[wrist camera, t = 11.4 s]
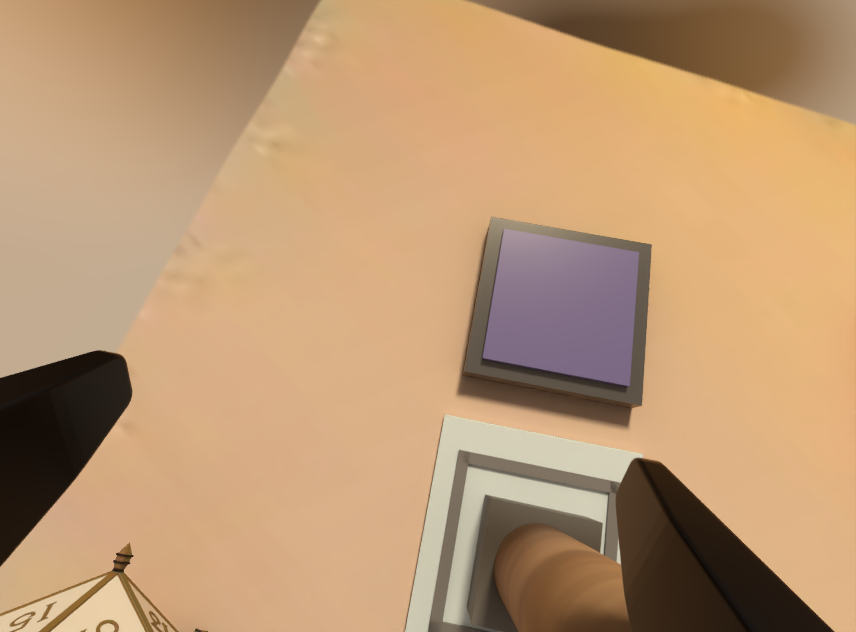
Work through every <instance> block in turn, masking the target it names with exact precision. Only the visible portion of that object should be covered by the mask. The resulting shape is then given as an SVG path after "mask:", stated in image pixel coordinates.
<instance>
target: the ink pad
mask: <svg viewBox="0 0 856 632" xmlns="http://www.w3.org/2000/svg"><path fill="white" fill-rule="evenodd" d="M651 247H652V245H651V244H646V243H640V242H634V241H628V240H623V239H617V238H611V237H605V236H600V235H594V234H588V233H582V232H577V231H571V230H565V229H559V228H554V227H548V226H542V225H536V224H531V223H525V222H519V221H513V220H508V219H502V218H496V217H491V220H490V224H489V228H488V234H487V240H486V245H485V251H484V257H483V262H482V268H481V274H480V279H479V285H478V291H477V296H476V302H475V308H474V313H473V319H472V325H471V331H470V336H469V342H468V348H467V353H466V359H465V365H464V370H463V375H465V376H471V377H476V378H481V379H486V380H491V381H496V382H501V383H507V384H512V385H517V386H522V387H527V388H532V389H537V390H543V391H548V392H553V393H558V394H563V395H568V396H573V397H579V398H584V399H589V400H594V401H599V402H604V403H609V404H615V405H620V406H625V407H630V408H634V407H638V406H642V394H643V377H644V361H645V345H646V328H647V312H648V296H649V279H650V263H651Z"/></svg>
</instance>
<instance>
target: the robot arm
mask: <svg viewBox="0 0 856 632" xmlns="http://www.w3.org/2000/svg"><path fill="white" fill-rule="evenodd" d="M131 397H132V387H131V382H130V377H129V372H128V368H127V363H126V360H125V358H124V357H123V356H122V355H120V354H117V353H112V352H107V351H101V350H98V351H93V352H89V353H86V354H82V355H79V356H75V357H72V358H68V359H65V360H62V361H58V362H55V363H51V364H47V365H44V366H40V367H37V368H34V369H30V370H27V371H23V372H20V373H16V374H13V375H9V376H6V377H3V378H0V567H1V566H2V564H3V563H4V562H5V561H6V560H7V559H8V557H9V556H10V555H11V554H12V553H13V552H14V550H15V549H16V548H17V547H18V546H19V545H20V543H21V542H22V541H23V540H24V539H25V538H26V536H27V535H28V534H29V533H30V532H31V531H32V529H33V528H34V527H35V526H36V525H37V524H38V522H39V521H40V520H41V519H42V518H43V517H44V515H45V514H46V513H47V512H48V511H49V510H50V508H51V507H52V506H53V505H54V504H55V503H56V501H57V500H58V499H59V498H60V497H61V496H62V494H63V493H64V492H65V491H66V490H67V489H68V487H69V486H70V485H71V484H72V482H73V481H74V480H75V479H76V478H77V476H78V475H79V474H80V472H81V471H82V470H83V468H84V467H85V466H86V464H87V463H88V461H89V460H90V459H91V457H92V456H93V454H94V453H95V451H96V450H97V449H98V447H99V446H100V444H101V443H102V442H103V440H104V439H105V437H106V436H107V435H108V433H109V432H110V430H111V429H112V428H113V426H114V425H115V423H116V422H117V420H118V419H119V418H120V416H121V415H122V413H123V412H124V411H125V409H126V408H127V406H128V405H129V403H130V401H131ZM615 507H616V518H617V528H618V538H619V549H620V559H621V570H622V580H623V589H624V597H625V602H626V608H627V613H628V618H629V623H630V628H631V632H834V631H833V630H832V629H831V628H830V627H829V626H828V625H827V624H826V623H825V622H824V621H823V620H822V619H821V618H820V617H819V616H818V615H817V614H816V613H815V612H814V611H813V610H812V609H811V608H810V607H809V606H808V605H807V604H806V603H804V602H803V601H802V600H801V599H800V598H799V597H798V596H797V595H796V594H795V593H794V592H793V591H792V590H791V589H790V588H789V587H788V586H787V585H786V584H785V583H784V582H783V581H782V580H781V579H780V578H779V577H778V576H777V575H776V574H775V573H774V572H773V571H772V570H771V569H770V568H769V567H768V566H767V565H766V564H765V563H764V562H763V561H762V560H761V559H760V558H758V557H757V556H756V555H755V554H754V553H753V552H752V551H751V550H750V549H749V548H748V547H747V546H746V545H745V544H744V543H743V542H742V541H741V540H740V539H739V538H738V537H737V536H736V535H735V534H734V533H733V532H732V531H731V530H730V529H729V528H728V527H727V526H726V525H725V524H724V523H723V522H722V521H721V520H720V519H719V518H718V517H717V516H716V515H715V514H714V513H712V512H711V511H710V510H709V509H708V508H707V507H706V506H705V505H704V504H703V503H702V502H701V501H700V500H699V499H698V498H697V497H696V496H695V495H694V494H693V493H692V492H691V491H690V490H689V489H688V488H687V487H686V486H685V485H684V484H683V483H682V482H681V481H680V480H679V479H678V478H677V477H676V476H675V475H674V474H673V473H672V472H671V471H670V470H669V469H668V468H667V467H665V466H664V465H663V464H662V463H660V462H658V461H654V460H649V459H644V458H634V459H633V460H632V461H631V463H630V464H629V466H628V468H627V471H626V473H625V475H624V477H623V479H622V481H621V483H620V485H619V487H618V490H617V493H616V498H615Z"/></svg>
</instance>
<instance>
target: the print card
mask: <svg viewBox="0 0 856 632" xmlns="http://www.w3.org/2000/svg"><path fill="white" fill-rule="evenodd" d="M634 458H643V454H640V453H635V452H630V451H625V450H620V449H615V448H610V447H605V446H600V445H595V444H590V443H585V442H580V441H575V440H570V439H565V438H560V437H555V436H550V435H545V434H540V433H535V432H530V431H525V430H520V429H515V428H510V427H505V426H500V425H495V424H490V423H485V422H480V421H475V420H470V419H465V418H460V417H455V416H450V415H445V416H444V421H443V427H442V432H441V438H440V443H439V449H438V454H437V459H436V465H435V470H434V476H433V481H432V487H431V492H430V498H429V503H428V509H427V514H426V520H425V525H424V531H423V536H422V542H421V547H420V552H419V558H418V563H417V569H416V574H415V580H414V585H413V591H412V596H411V602H410V607H409V613H408V618H407V624H406V629H405V632H502V631H498V630H494V629H490V628H486V627H481V626H477V625H473V624H471V621H470V617H469V614H468V610H467V603H468V597H469V591H470V585H471V578H472V572H473V566H474V560H475V554H476V547H477V541H478V535H479V529H480V522H481V516H482V510H483V504H484V498H485V494H486V495H490V496H495V497H499V498H504V499H508V500H513V501H518V502H522V503H527V504H531V505H536V506H540V507H545V508H549V509H554V510H558V511H563V512H567V513H572V514H576V515H581V516H586V517H588V518H591V519H594V520H596V521H599V522H602V523H603V527H602V538H601V549H600V553H601V554H603V555H605V556H606V557H608V558H610V559H612V560H614V561H615V562H617V563H619V564H621V559H620V549H619V538H618V528H617V518H616V507H615V498H616V493H617V490H618V487H619V485H620V483H621V481H622V479H623V477H624V475H625V473H626V471H627V468H628V466H629V464H630V463H631V461H632V460H633V459H634Z"/></svg>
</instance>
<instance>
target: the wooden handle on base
mask: <svg viewBox="0 0 856 632" xmlns="http://www.w3.org/2000/svg"><path fill="white" fill-rule="evenodd" d="M602 527H603V523H602V522H599V521H596V520H594V519H591V518H588V517H586V516H581V515H576V514H572V513H567V512H563V511H558V510H554V509H549V508H545V507H540V506H536V505H531V504H527V503H522V502H518V501H513V500H508V499H504V498H499V497H495V496H490V495H486V494H485V498H484V504H483V510H482V516H481V522H480V529H479V535H478V541H477V547H476V554H475V560H474V566H473V572H472V578H471V585H470V591H469V597H468V603H467V610H468V614H469V617H470V621H471V624H473V625H477V626H481V627H486V628H490V629H494V630H498V631H502V632H631V628H630V623H629V618H628V613H627V608H626V602H625V597H624V589H623V580H622V570H621V564H619V563H617V562H615V561H614V560H612V559H610V558H608V557H606V556H605V555H603V554H601V553H600V549H601V538H602Z"/></svg>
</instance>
